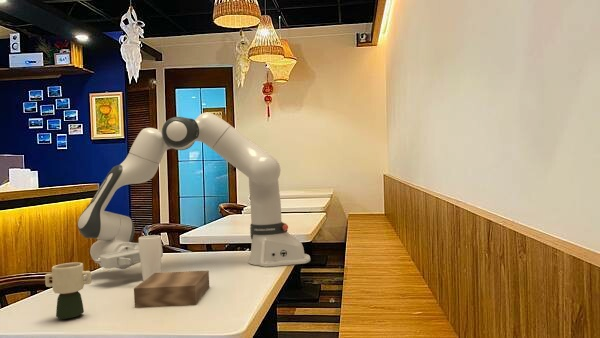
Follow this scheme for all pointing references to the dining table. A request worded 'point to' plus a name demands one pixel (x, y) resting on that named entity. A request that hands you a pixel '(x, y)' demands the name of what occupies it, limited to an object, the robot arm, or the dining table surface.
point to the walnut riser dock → (172, 289)
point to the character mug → (68, 288)
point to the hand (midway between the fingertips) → (145, 258)
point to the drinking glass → (150, 255)
